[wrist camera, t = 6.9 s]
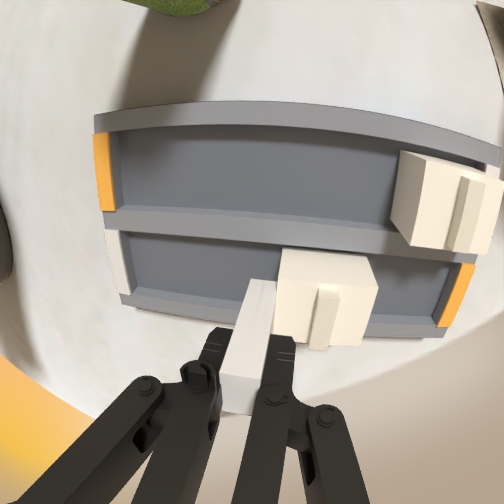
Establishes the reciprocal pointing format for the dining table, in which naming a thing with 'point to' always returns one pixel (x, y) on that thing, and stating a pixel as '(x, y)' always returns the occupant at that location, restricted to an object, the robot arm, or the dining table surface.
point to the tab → (324, 297)
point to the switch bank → (270, 205)
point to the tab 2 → (445, 204)
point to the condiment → (494, 31)
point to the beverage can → (177, 6)
